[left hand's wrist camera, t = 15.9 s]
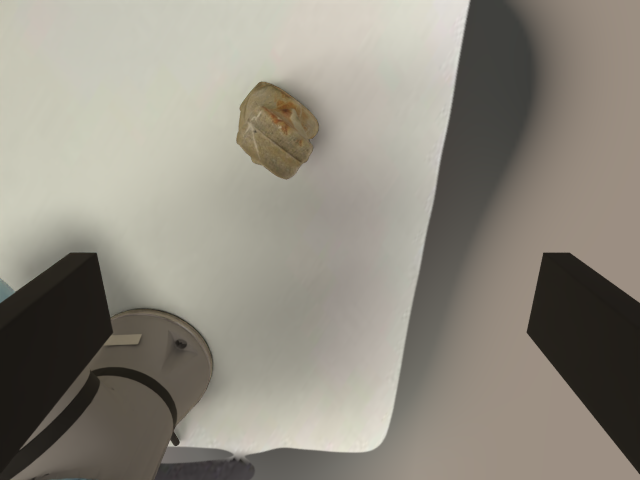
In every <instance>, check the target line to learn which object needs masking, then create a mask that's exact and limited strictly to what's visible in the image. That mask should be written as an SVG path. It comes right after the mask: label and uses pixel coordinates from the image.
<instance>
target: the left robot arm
mask: <svg viewBox="0 0 640 480" xmlns="http://www.w3.org/2000/svg"><path fill="white" fill-rule="evenodd" d="M527 334H528V335H529V336H530V337H531V339H532V340H533V341H534V342H535V344H536V345H537V346H538V347H539V349H540V350H541V351H542V352H543V354H544V355H545V356H546V357H547V359H548V360H549V361H550V362H551V364H552V365H553V366H554V367H555V369H556V370H557V371H558V372H559V374H560V375H561V376H562V377H563V379H564V380H565V381H566V382H567V384H568V385H569V386H570V387H571V389H572V390H573V391H574V392H575V394H576V395H577V396H578V397H579V399H580V400H581V401H582V402H583V404H584V405H585V406H586V407H587V409H588V410H589V411H590V413H591V414H592V415H593V416H594V418H595V419H596V420H597V421H598V423H599V424H600V425H601V426H602V428H603V429H604V430H605V431H606V432H607V434H608V435H609V436H610V438H611V439H612V440H613V441H614V443H615V444H616V445H617V446H618V448H619V449H620V450H621V451H622V453H623V454H624V455H625V456H626V458H627V459H628V460H629V461H630V463H631V464H632V465H633V466H634V468H635V469H636V470H637V471H638V473H639V474H640V303H639V302H638V301H636V300H635V299H633V298H632V297H631V296H629V295H628V294H626V293H625V292H624V291H622V290H621V289H619V288H618V287H617V286H615V285H614V284H612V283H611V282H610V281H608V280H607V279H605V278H604V277H603V276H601V275H600V274H599V273H597V272H596V271H594V270H593V269H592V268H590V267H589V266H587V265H586V264H585V263H583V262H582V261H580V260H579V259H578V258H576V257H575V256H573V255H572V254H571V253H543V257H542V262H541V267H540V272H539V276H538V281H537V286H536V291H535V295H534V300H533V305H532V310H531V314H530V319H529V324H528V329H527ZM211 375H212V357H211V353H210V350H209V348H208V346H207V344H206V342H205V341H204V339H203V338H202V336H201V335H200V334H199V333H198V332H197V331H196V330H195V329H194V328H193V327H192V326H190V325H189V324H188V323H186V322H185V321H183V320H182V319H180V318H178V317H176V316H174V315H171V314H168V313H165V312H162V311H157V310H150V309H136V310H129V311H125V312H122V313H119V314H117V315H115V316H113V317H111V318H110V314H109V310H108V305H107V300H106V295H105V290H104V286H103V281H102V276H101V271H100V267H99V262H98V257H97V253H69V254H68V255H67V256H65V257H64V258H62V259H61V260H60V261H58V262H57V263H55V264H54V265H53V266H51V267H50V268H48V269H47V270H46V271H44V272H43V273H41V274H40V275H39V276H37V277H36V278H35V279H33V280H32V281H30V282H29V283H28V284H26V285H25V286H23V287H22V288H21V289H19V290H18V291H16V292H15V291H14V290H13V289H12V288H11V287H10V286H8V285H7V284H6V283H5V282H4V281H3V280H2V279H1V278H0V480H154V479H155V476H156V473H157V471H158V468H159V466H160V463H161V461H162V458H163V456H164V453H165V451H166V448H167V446H168V444H169V441H170V440H171V441H172V443H173V445H174V446H177V445H179V443H180V442H179V440H178V438H177V436H176V435H175V433H174V428H175V426H176V425H177V424H178V423H179V422H180V421H181V420H182V419H183V418H184V417H185V416H186V414H187V413H188V412H189V411H190V410H191V409H192V408H193V407H194V406H195V405H196V404H197V403H198V402H199V400H200V399H201V397H202V396H203V394H204V392H205V391H206V389H207V386H208V384H209V381H210V378H211Z"/></svg>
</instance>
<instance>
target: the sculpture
mask: <svg viewBox="0 0 640 480" xmlns="http://www.w3.org/2000/svg"><path fill="white" fill-rule="evenodd" d="M240 111H241V113H240V120H239V132H238V134H237V139H236V140H237V144H239V145H240V146H241V148H242V149H243V150H244V151H245V152H246V153H247V154H248V155H249V156H251V159H252V161H253V162H254V163H255V164H259V165H263V166H264V167H265V168H266V169H268V170H269V171H270V172H272V173H273V174H274V175H276V176H278V177H280V178H283V179H289V178H291V177H292V176H294V175H295V174H296V172H297V171H298V169H299V167H300V166H301V165H302V164H303V163H305V162H307V160H308V158H309V156H310V154H311V153H312V151H313V146H312V144H311V143H310V142H309V139H312V138H313V137H314V136H315V135H316V134H317V132H318V128H319V125H318V122H317V120H316V118H315V117H314V116H313V115H312V113H311V112H310V111H309V110H308V109H306V108H305V107H304V106H303V105H302V104H301V103H300V102H298V101H297V100H296V99H294V98H293V97H292V96H290V95H289V94H288V93H286V92H285V91H283V90H282V89H280V88H278V87H276V86H274V85H272V84H270V83H267V82H259V83H258V84H257V85H256V86H255V87H254V89H253V90H252V91H251V92H250V93H249V94H248V96H247V97H246V98H245V100H244V101H243V102H242V104H241V106H240Z"/></svg>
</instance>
